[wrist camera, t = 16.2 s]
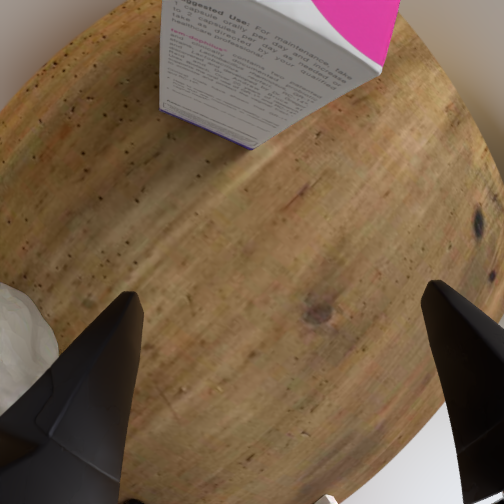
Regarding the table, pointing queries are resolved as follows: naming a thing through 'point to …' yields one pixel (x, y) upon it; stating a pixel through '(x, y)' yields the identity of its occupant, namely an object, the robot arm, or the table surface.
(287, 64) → the supplement box
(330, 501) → the eraser
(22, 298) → the ceramic sculpture
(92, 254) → the table surface
